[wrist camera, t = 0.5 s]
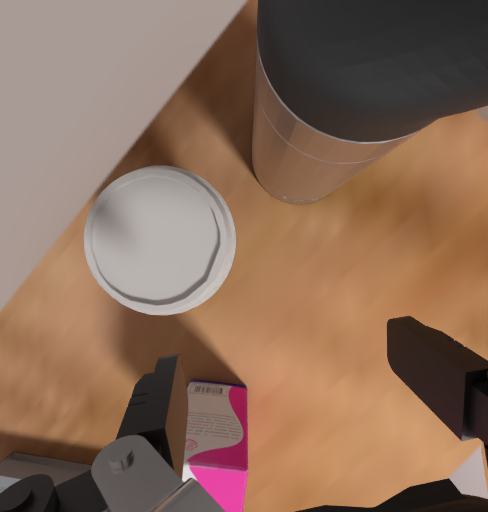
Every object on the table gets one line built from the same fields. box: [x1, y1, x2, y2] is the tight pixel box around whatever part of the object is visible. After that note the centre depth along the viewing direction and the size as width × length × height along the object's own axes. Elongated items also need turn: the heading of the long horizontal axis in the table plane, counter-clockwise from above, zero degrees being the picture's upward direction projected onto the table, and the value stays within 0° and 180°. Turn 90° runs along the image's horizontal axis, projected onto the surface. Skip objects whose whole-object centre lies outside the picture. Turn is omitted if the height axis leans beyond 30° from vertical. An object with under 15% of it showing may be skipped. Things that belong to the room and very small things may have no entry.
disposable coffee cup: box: [84, 166, 236, 315], centre depth 24 cm, size 10×10×12 cm
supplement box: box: [182, 380, 248, 512], centre depth 25 cm, size 6×6×12 cm
